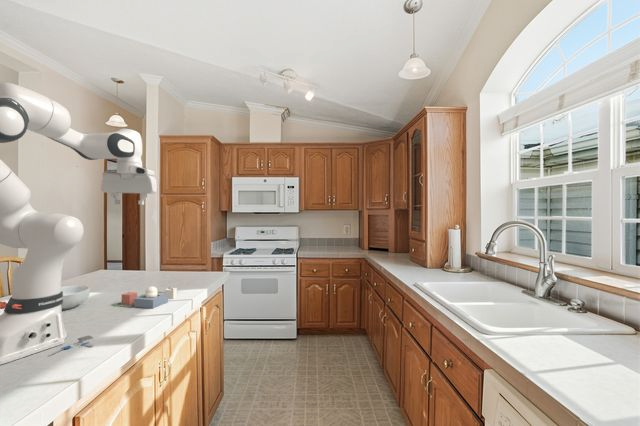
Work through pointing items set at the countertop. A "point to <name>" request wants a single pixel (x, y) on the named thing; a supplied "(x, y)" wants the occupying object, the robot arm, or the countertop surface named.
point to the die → (171, 292)
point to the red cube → (128, 298)
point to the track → (133, 305)
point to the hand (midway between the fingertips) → (129, 204)
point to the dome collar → (150, 301)
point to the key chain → (78, 344)
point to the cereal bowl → (74, 296)
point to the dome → (151, 292)
